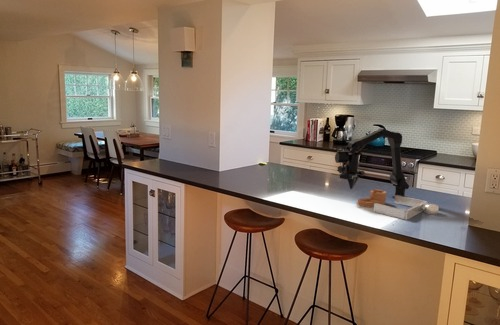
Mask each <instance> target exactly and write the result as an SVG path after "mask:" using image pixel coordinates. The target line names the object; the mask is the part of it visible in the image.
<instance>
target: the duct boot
mask: <svg viewBox="0 0 500 325" xmlns="http://www.w3.org/2000/svg"><path fill="white" fill-rule="evenodd" d="M394 195H395V194H394ZM394 204H397V205H402V206H408V207H410V208H408V209H403V208H398V207H393V206H390V205H386V204H384V205H381V204H377V203H374V207H373V213H377V214H381V215H385V216H389V217H393V218H397V219H401V220H405V221H407V220H409V219H411V218H413V217H415V216H417V215H419V214H420V213H422V212H424V210H425V204H428V201H427V200H424V199H423V200H422V199H418V198H412V197H407V196H406V197H404V196H399V195H395V198H394Z"/></svg>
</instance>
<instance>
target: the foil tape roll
mask: <svg viewBox="0 0 500 325" xmlns="http://www.w3.org/2000/svg"><path fill="white" fill-rule="evenodd" d="M423 212H424V213H425V214H427V215H438V214H439V205H438V204H434V203H427V204H425V210H424V211H423Z"/></svg>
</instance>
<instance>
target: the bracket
mask: <svg viewBox="0 0 500 325" xmlns="http://www.w3.org/2000/svg"><path fill="white" fill-rule="evenodd" d="M386 199H387V191H385V190H383V189H371V190H370V195H369V197H368V196H367V197H362V198H358V199H357V206H359V207H361V208H362V207H363V208H374V203H377V204H381V205H386Z"/></svg>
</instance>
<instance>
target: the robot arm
mask: <svg viewBox="0 0 500 325" xmlns="http://www.w3.org/2000/svg"><path fill="white" fill-rule="evenodd" d="M382 137H383V138H386V139H387V143H388V144H389V147H390V149H391V150H390V151H391V152H390V153H391V163H392V172H391V173H389V181H390V182H391V184H392V186H393V187H394V188H395V189H394V195H392V198H394V199H395V195H399V196H404V197H407V196H406V190H409V187H410V185H409V184H408V182H407V181H406V176H405V174H404V172H403V169H402V158H401V156H402V155H401V145H402V143H403V135H402V133H400V132H398V131H391V130H387V129H386V128H378V129H377V130H375V131H373V132H371V133H369V134H367V135H365V136H363V137H361V138H355V139H352V140H350V141H349V142H348V143H347V145H346V147H345V148H344V149H343V150H337V151H336V153H335V155H334V161H335V162H336V163H337V164H340V163H342V164H343V163H344V164H345V166H342V165H339V166H337V172H338V173H339V178H338V179H342V180H347V181H348V186H349V189H350V190H353V189H354V187H355V186H356V184H357V181H358V180H359V179H360V177H359V176H358V175H360V176H361V177H363V176H366V175H365V170H361V169H359V167H360V164H359V161H360V159H359V157H360V156H363V152H361V150H362V149H363V148H364V147H365V146H366V145H369V144H370V143H371V142H374V141H376V140H378V139H380V138H382Z"/></svg>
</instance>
